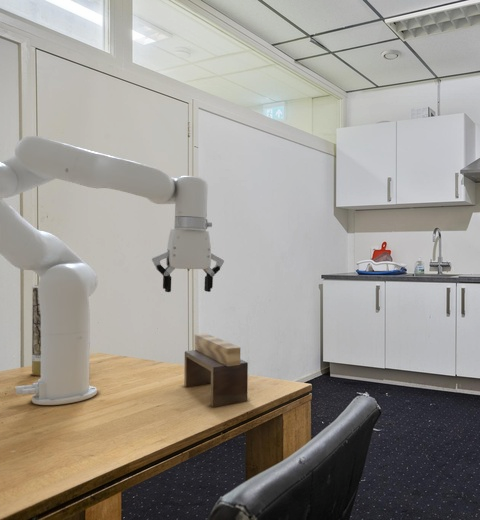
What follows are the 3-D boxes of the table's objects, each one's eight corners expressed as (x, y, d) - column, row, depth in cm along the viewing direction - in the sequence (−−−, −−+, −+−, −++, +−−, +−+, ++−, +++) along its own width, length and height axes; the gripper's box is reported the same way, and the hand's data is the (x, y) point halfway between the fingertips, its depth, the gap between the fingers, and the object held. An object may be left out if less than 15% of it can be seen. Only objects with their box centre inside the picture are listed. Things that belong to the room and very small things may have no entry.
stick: (240, 364, 107) (240, 347, 107) (227, 366, 105) (227, 348, 105) (206, 348, 125) (206, 333, 125) (194, 349, 124) (194, 334, 124)
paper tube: (45, 377, 128) (46, 286, 128) (25, 375, 129) (26, 285, 129) (67, 371, 135) (68, 284, 134) (48, 369, 136) (48, 284, 136)
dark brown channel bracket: (212, 407, 104) (213, 367, 104) (184, 385, 121) (184, 351, 121) (247, 400, 109) (247, 362, 109) (215, 380, 126) (215, 347, 126)
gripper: (219, 228, 128) (217, 290, 128) (150, 223, 117) (147, 290, 117) (229, 227, 122) (226, 292, 122) (156, 221, 111) (154, 293, 111)
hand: (188, 291), depth 120 cm, fingers open, 9 cm apart
